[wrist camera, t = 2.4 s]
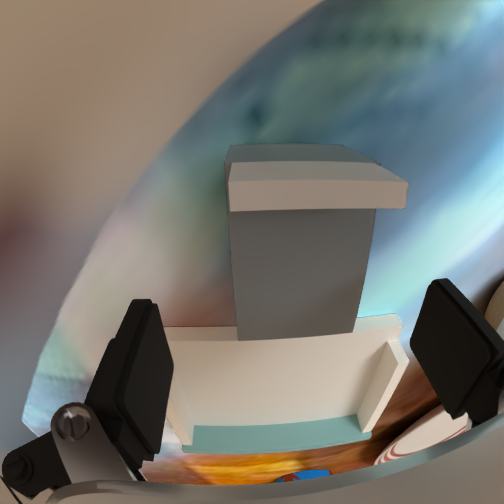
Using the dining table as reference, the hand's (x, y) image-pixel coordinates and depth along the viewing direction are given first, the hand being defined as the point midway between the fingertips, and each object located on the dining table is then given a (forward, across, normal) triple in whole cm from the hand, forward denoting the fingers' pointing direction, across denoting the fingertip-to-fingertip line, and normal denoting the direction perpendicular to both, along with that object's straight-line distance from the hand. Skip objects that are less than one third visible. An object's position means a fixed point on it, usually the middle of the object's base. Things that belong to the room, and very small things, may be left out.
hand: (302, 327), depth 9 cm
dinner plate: (+10, -30, +35) cm, 47 cm away
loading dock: (+10, -1, +15) cm, 18 cm away
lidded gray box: (+9, -1, -1) cm, 9 cm away
